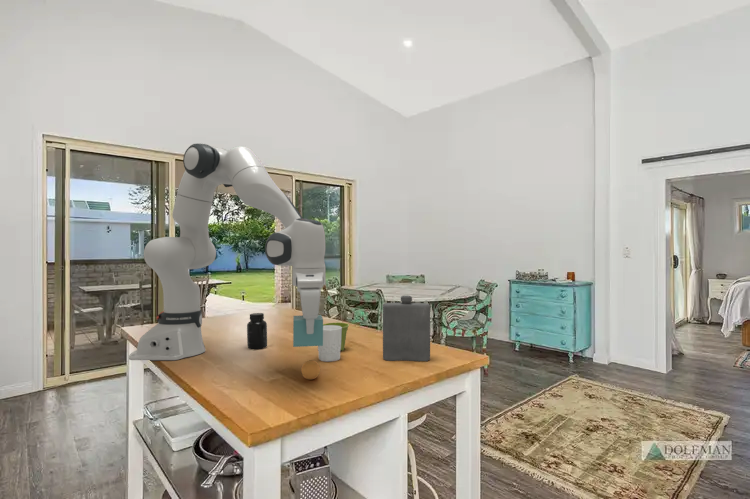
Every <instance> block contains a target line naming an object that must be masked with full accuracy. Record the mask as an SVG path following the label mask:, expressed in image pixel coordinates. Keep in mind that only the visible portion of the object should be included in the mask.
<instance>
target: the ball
mask: <svg viewBox="0 0 750 499" xmlns="http://www.w3.org/2000/svg"><path fill="white" fill-rule="evenodd" d="M300 370H301V371H300V372H301V375H302V377H303V378H305V379H306V380H314V379H316V378H317V377H318V376H319V375H320V372H321V366H320V364H319V363H318V362H317V361H316V360H312V359H309V360H307V361H305V362H303V364H302V366H301V369H300Z"/></svg>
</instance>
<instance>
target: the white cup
mask: <svg viewBox="0 0 750 499" xmlns="http://www.w3.org/2000/svg"><path fill="white" fill-rule="evenodd" d="M341 335H342V327H341V326H336V325H325V326H323V346H317V351H318V361H320V362H336V361H339V360H340V359H341Z"/></svg>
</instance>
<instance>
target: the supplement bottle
mask: <svg viewBox="0 0 750 499" xmlns="http://www.w3.org/2000/svg"><path fill="white" fill-rule="evenodd" d="M264 319H265V313H264V312H254V313H249V320H250V321H248V323H247V325H246V334H247V335H246V336H247V337H246V340H247V341H246V342H247V345H246V346H247V348H248V349H249V350H253V351H254V350H263V349H265V348H267V347H268V324H267V322H266V320H264Z"/></svg>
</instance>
